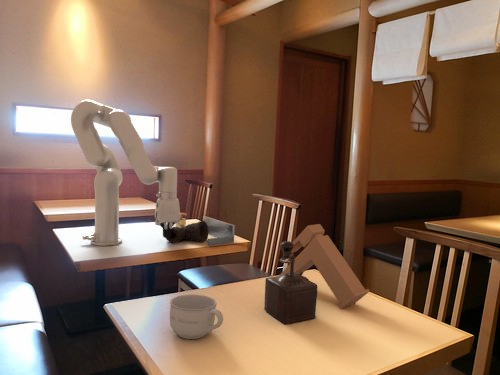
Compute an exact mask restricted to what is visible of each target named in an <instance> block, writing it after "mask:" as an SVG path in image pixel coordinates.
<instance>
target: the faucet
mask: <svg viewBox="0 0 500 375" xmlns="http://www.w3.org/2000/svg"><path fill="white" fill-rule="evenodd" d="M291 242H292V243H293V245H294V247H293V249H292V251H291V253H295V252H298V251H299V250H300V249H301V248H302V247H303V248H304V249H303V250H302V251H301V252H300V253H299V254H298V255H297V256H295V258H294V260H295V263H294V271H293V272H294V273H297V274H300V272H303V273H305V272H306V271H307V270H308V269H310V268H311V267H312V266H315V267H316V269H317V270H318V272H319V274H320V275H321V277H322V279H323V280H324V282H325V283H326V285H327V286H328V288H329V289H330V291H331V292H332V293H333V295H334V297H335V299H336V300H337V301H338V303H339V306H338V308H339V310H341V309H342V310H343V309H344V308H348V307H350V306H352V305H356V303H357V302H358V301H360V300H361V299H362V298H364V297H365V296H366V295H367V294H369V293H370V289H369V288H367V289H366V288H365V287H364V286H363V284H362V283H361V281H360V280H359V278H358V277H357V275H356V274H355V273H354V271H353V269H352V268H351V267H350V266H349V264H348V262H347V261H346V259H345V258H344V257H343V255H342V254H341V252H340V251H339V249H338V248H337V246H336V244H334V242H333V241H332V239H331V238H330V236H329V235H328V234H326V235H325V229H324V228H323V226H322V224H320V223H317V224H310V225H307V226H306V227H305V228H304V229H303V230H302V231H301V232H300V234H298V236H296V238H295V239H294V240H293V241H291ZM282 253H283V254H284V252H283V251H282ZM286 273H290V264H288V266H286V268H284V270H283V271H282V272H281V273H280V274H279V275H278V276H281V275H283V274H286Z"/></svg>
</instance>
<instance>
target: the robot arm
mask: <svg viewBox="0 0 500 375" xmlns="http://www.w3.org/2000/svg"><path fill="white" fill-rule="evenodd" d="M94 123H96V124H98V125H101V126H104V127H107V128H110V129H111V131H112V133H113V134H114V136H115V137H116V139H117V140H118V143H119V145H120V146H121V148H122V150H123V152H124V154H125V156H126V158H127V159H128V162H129V164H130V165H131V167H132V170H133V171H134V172H135V174H136V176H137V177H138V179H139V181H140V182H141V183H142V184H144V185H147V186H149V185H153V184H155V183H158V193H156V194H155V196H156V197H158V198H157V200H156V203H155V210H154V220H155V222H154V224H155V225H156V226H160V227H161V228H162V237H163V238H165V239H166V238H170V235H171V229H172V227H174V225H176V224H177V223H178V222H179V220H180V213H181V208H180V201H179V198H177V194H178V169H177V167H174V166H157V165H153V164H152V162H151V160H150V158H149V157H148V154H147V153H146V151H145V146H144V142H143V140H142V138H141V136H140V135H139V133H138V131H137V130H136V128H135V126H134V124H133V123H132V119H131V116H130V114H128V113H127V112H126V111H124V110H122V109H116V108H113V107H111V106H108V105H104V104H102V103H99V102H97V101H94V100H91V99H84V100H82V101H80V102H78V103H77V104H76V105H75V106H74V107H73V110H72V112H71V114H70V124H71V128H72V131H73V134H74V136H75V138H76V140H77V142H78V144H79V147H80V149H81V151H82V153H83V155H84V156H83V157H84V159H85V160H86V162H87V164H88V165H89V166H91V167H93V168H94V169H95V170H96V174H95V177H94V181H93V188H94V231H92V233H90V234H83V235H82V240H84V241H85V240H87V241H90V244H91V245H95V246H100V247H109V246H117V245H120V244H122V243H123V238H121V237H119V228H120V227H119V226H120V224H119V221H120V220H119V217H120V214H119V213H120V194H119V193H120V192H119V188H120V186H121V185H122V183H123V179H124V177H123V173H122V170H121V168H120V166H119V164H118V161H117V159H116V157H115V155H114V152H113V151H112V149H111V148H110V147H109V146H107V145H106V144H104V143H103V141H102V139H101V137H100V135H99V133H98V132H99V131H98V130H97V129H96V127H95V124H94Z"/></svg>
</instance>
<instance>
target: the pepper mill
mask: <svg viewBox="0 0 500 375" xmlns="http://www.w3.org/2000/svg"><path fill="white" fill-rule="evenodd" d="M292 242H293V241H288V240H287V241H285V240H284V241H283V242H281V243H280V249H281V250H282V253H283V252H284V253H283V255H282V258H280V259H279V262H280V263H283V264H288V265H290V273H286V274H283V275H281V276H279V275H277V276H275V275H274V276H270V277H265V284H264V285H265V286H264V308H263V310H264V311H265V312H266V314H268V315H270V316H271V317H272V318H274V320H276V321H278V322H279V323H281V324H283V325H284V326H285V325H286V326H287V325H293V324H297V323H302V322H307V321H311V320H315V319H316V318H317V316H316V314H317V313H316V312H317V311H316V310H317V301H318V284H317V283H315V282H313V281H311V280H309V278H308V277H306V276H304V275H303V274H304V272H300V274H297V273H294V272H293V271H294V263H295V260H294V259H295V258H296V256H295V255H294V254H292V252H291V251H292V249H293V247H294V245H293V243H292Z"/></svg>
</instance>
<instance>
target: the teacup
mask: <svg viewBox="0 0 500 375" xmlns="http://www.w3.org/2000/svg"><path fill="white" fill-rule="evenodd" d="M169 304H170V307H169V308H170V309H169V323H170V324H169V325H170V328H171V329H172V331H173V332H174V333H176V335H177V336H179V337H180V338H183V339H186V340H188V339H189V340H195V339H201V338H203V337H205V336H206V335H207V334H209V333H212V331H213V330H216V329H218V328H220V327H221V326H222V324H223V323H224V316H223V312H222V311H221V310H220V309H216V308H217V300H215V298H213V297H211V296H207V295H205V294H202V295H201V294H195V293H194V294H192V293H191V294H182V295H177V296H174V297H173V298H171V299H170V301H169ZM215 318H216V319H217V322H216V323H215Z"/></svg>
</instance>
